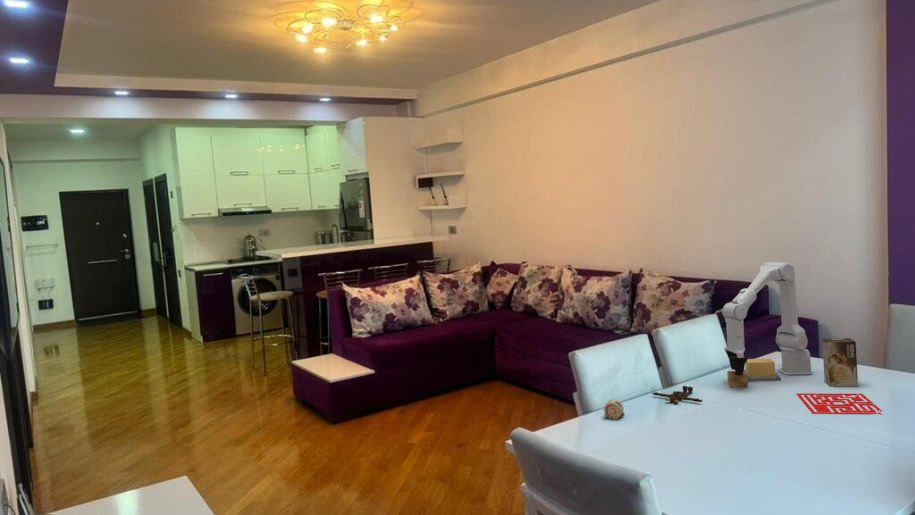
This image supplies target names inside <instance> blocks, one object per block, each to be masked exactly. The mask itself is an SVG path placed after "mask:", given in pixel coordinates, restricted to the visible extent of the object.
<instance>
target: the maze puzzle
mask: <svg viewBox="0 0 915 515" xmlns="http://www.w3.org/2000/svg"><path fill="white" fill-rule="evenodd" d="M795 394H796V396H797V398H799V399H800V401H802V403H803V404H804V406H805V407H806V408H807V409H808V411H809V412H810V413H811V415H871V414H877V413H878V414H881V413H880V412H879V410H880V409H881V408H879V407H878V406H877V405H876V404H875V403H873V401H871V400H870V399H869V397H867V396H866V395H865V394H864V393H822V392H821V393H810V392H809V393H806V392H805V393H801V392H800V393H795ZM857 394H858V395H857ZM844 395H845V396H846V397H845V396H844ZM860 395H861V397H860ZM847 396H852V397H847ZM855 396H856V397H855ZM811 398H812V399H811ZM823 398H824V399H823ZM831 398H832V399H831ZM841 398H851V399H841ZM805 399H806V400H805ZM865 399H866V400H867V401H868V402H867V401H866V400H865ZM819 400H820V401H819ZM843 400H847V401H848V402H847V401H843ZM851 400H852V401H851ZM853 400H854V401H853ZM813 401H814V402H815V403H814V402H813ZM856 401H864V402H856ZM835 403H837V404H835ZM838 403H840V404H838ZM841 403H842V404H841ZM856 404H858V405H859V406H860V408H859V406H858V405H856ZM874 404H875V405H874ZM810 405H811V406H812V407H813V408H812V407H811V406H810ZM872 405H873V406H874V407H875V408H876V409H877V410H875V408H874V407H873V406H872ZM865 406H867V407H868V408H869V409H868V408H867V407H865ZM853 408H854V409H855V410H854V409H853ZM814 409H815V410H814ZM837 409H838V410H837ZM831 410H832V411H831ZM839 411H840V412H839ZM877 411H878V412H877ZM880 411H883V410H882V409H881V410H880Z"/></svg>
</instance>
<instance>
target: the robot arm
mask: <svg viewBox="0 0 915 515" xmlns="http://www.w3.org/2000/svg"><path fill="white" fill-rule="evenodd" d="M769 282H775V283H776V284H778V286H779V298H780V299H779V300H780V301H779V302H780V315H781V317H780V318H781V325H780V326H779V327H777V329H776V336H775V343H776V345H777V346H778V347H779V349H780V350H781V351H780V352H781V367H780V368H778V370H779V371H780V372H781V373H782V374H783V375H785V376H797V375H799V376H801V375H803V376H807V375H813V372H812V366H811V365H812V363H811V354H810V351H809V350H808V349H806V348H807V347H808V342H809V340H808V337H807V335H806V330H805V329H804V328H803V327H802V326H801V325H800V324H799V321H798V307H797V306H798V305H797V302H798V301H797V290H796V289H797V288H796V287H797V286H796V278H795V266H794V265H793V264H791V263H790V262H787V261H786V262H779V261H776V262H775V261H764V262H763V263H762V264H761V266H759V268H758V274H757V275H756V276H755V278H754V279H753V280H752V281H751V284H750V285H749V286H748V287H747V288H742V289H740V290H739V293H738V294H737V295H736V296H735V297H734V298H733V299H732V301H731V302H727V303H725V305H724V306H723V308H722V310H721V315H722V316H723V317H724V322H725V323H726V325H725V326H726V343H727V344H726V345H727V346H726V347H725V346H724V347H723V350H724V351H725V354H726V355H727V358H728V362H729V364H730V369H731V371H735V373H736V375H743V372H744V370H745V367H746V361H747V360H748V359H749V357H748V356H744V355H745V354H744V352H745V351H746V347H745V331H744V330H745V328H744V327H745V324H744V319H745V318H746V317H747V315H748V311H749V308H750V307H751V305H753V303H754V302H755V301H756V300H757V297H758V296H757V294H758V292H760V291H761V290H762V289H763V288H764V287H765V286H766V285H767V284H768V283H769Z"/></svg>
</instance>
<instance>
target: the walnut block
mask: <svg viewBox="0 0 915 515" xmlns="http://www.w3.org/2000/svg"><path fill="white" fill-rule="evenodd" d="M726 372H727V385H728V386H729V388H731V389H732V388H733V389H734V388H735V389H737V388H738V389H739V388H740V389H741V388H743V389H744V388H745V389H746V388H749V382H748V375H747V373H746V372H745V371H744V372H743V375H736V373H735V370H731V371H730V370H728V371H726Z"/></svg>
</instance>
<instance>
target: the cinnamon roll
mask: <svg viewBox="0 0 915 515" xmlns="http://www.w3.org/2000/svg"><path fill="white" fill-rule="evenodd" d="M603 411H604V414H603V415H604V417H605V418H607V417H609V418H608V419H611V418H612V419H611V420H616V419H620V418H624V416H625V412H624V405H623V403H622V402H621V401H620V400H619V399H615V398H613V399H609V400H608V401H607V402H606V403H605V405H604V407H603Z"/></svg>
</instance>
